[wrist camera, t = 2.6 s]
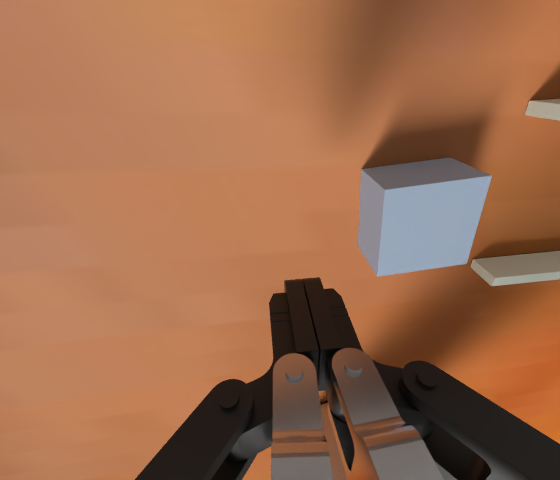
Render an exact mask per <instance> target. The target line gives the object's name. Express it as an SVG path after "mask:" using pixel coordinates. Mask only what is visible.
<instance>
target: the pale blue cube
mask: <svg viewBox="0 0 560 480" xmlns="http://www.w3.org/2000/svg"><path fill="white" fill-rule="evenodd" d="M491 177H492V175H490V174H487V173H485V172H483V171H480V170H478V169H476V168H474V167H471V166H469V165H467V164H464V163H462V162H460V161H458V160H455V159H453V158H451V157H449V158H441V159H434V160H426V161H419V162H411V163H403V164H396V165H388V166H381V167H373V168H366V169H361V188H360V211H359V234H358V247H359V248H360V250H361V251H362V253H363V255H364V256H365V258H366V260H367V261H368V263H369V264H370V266H371V268H372V269H373V271H374V272H375V274H376V276H377V277H378V276H385V275H392V274H399V273H406V272H413V271H420V270H427V269H434V268H441V267H448V266H455V265H462V264H467V261H468V257H469V254H470V250H471V247H472V244H473V240H474V237H475V233H476V230H477V226H478V223H479V219H480V216H481V212H482V209H483V205H484V202H485V198H486V195H487V191H488V188H489V184H490V181H491Z"/></svg>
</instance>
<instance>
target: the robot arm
mask: <svg viewBox="0 0 560 480" xmlns="http://www.w3.org/2000/svg"><path fill="white" fill-rule="evenodd" d="M284 287H285V293H276V294H273V296H272V298H271V300H270V302H269V307H270V321H271V334H272V346H273V363H272V365H271V367H270V369H269V370H268V372H267V373H265V374H264V375H263V376H262V377H260V378H258V379H256V380H254V381H252V382H249V383H247V384H246V383H244V382H243V381H241V380H237V379H229V380H225V381H223V382H221V383H219V384H218V385H216V386H215V387H214V388H213V389H212V390H211V391H210V393H209V394H208V395H207V396H206V397H205V398H204V400H203V401H202V402H201V403H200V404H199V405H198V407H197V408H196V409H195V410H194V411H193V412H192V414H191V415H190V416H189V417H188V418H187V419H186V421H185V422H184V423H183V424H182V425H181V426H180V428H179V429H178V430H177V431H176V432H175V433H174V435H173V436H172V437H171V438H170V439H169V440H168V442H167V443H166V444H165V445H164V446H163V447H162V449H161V450H160V451H159V452H158V453H157V454H156V456H155V457H154V458H153V459H152V460H151V461H150V463H149V464H148V465H147V466H146V467H145V468H144V470H143V471H142V472H141V473H140V474H139V475H138V477H137V478H136V479H135V480H242V478H243V477H244V475H245V474H246V472H247V470H248V469H249V467H250V465H251V464H252V462H253V460H254V459H255V457H256V455H257V453H259V452H261V451H263V450H264V449H266V448H268V447H270V446H271V480H560V444H559V443H557V442H556V441H554V440H552V439H551V438H549V437H548V436H546V435H544V434H543V433H541V432H540V431H538V430H536V429H535V428H533V427H532V426H530V425H528V424H527V423H525V422H524V421H522V420H520V419H519V418H517V417H516V416H514V415H512V414H511V413H509V412H508V411H506V410H505V409H503V408H501V407H500V406H498V405H497V404H495V403H493V402H492V401H490V400H489V399H487V398H485V397H484V396H482V395H481V394H479V393H477V392H476V391H474V390H473V389H471V388H469V387H468V386H466V385H465V384H463V383H461V382H460V381H458V380H457V379H455V378H453V377H452V376H450V375H449V374H447V373H445V372H444V371H442V370H441V369H439V368H437V367H436V366H434V365H432V364H430V363H428V362H424V361H412V362H409V363H408V364H407V365H406V366H405V367H404V369H402V368H397V367H392V366H387V365H383V364H380V363H377V362H376V361H374V360H372V359H371V358H370V357H369V356H368V355H367V354H366V353H365V352H364V351H363V350H362V348H361V346H360V343H359V340H358V338H357V335H356V333H355V330H354V328H353V325H352V323H351V320H350V317H349V316H348V312H347V310H346V308H345V305H344V302H343V300H342V297H341V296H340V295H339V294H338V293H337V292H336V291H335V290H334V289H333V288H332V289H323V285H322V282H321V279H320V278H319V277H318V278H306V279H295V280H285V281H284ZM323 390H325V391H326V395H327V399H328V403H325V404H322V405H320V399H319V392H318V391H323Z"/></svg>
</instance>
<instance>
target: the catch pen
mask: <svg viewBox="0 0 560 480" xmlns="http://www.w3.org/2000/svg"><path fill="white" fill-rule="evenodd" d="M524 115H528V116H534V117H540V118H546V119H552V120H558V121H560V99H548V100H533V101H529V103H528V106H527V109H526V112H525V114H524ZM470 267H471V268H472V269H473V270H474V271H475V272H476V273H477V274H478V275H479V276H481V277H482V278H483V279H484V280H485V281H486V282H487V283H488V284H490V285H491V286H500V285H510V284H519V283H529V282H538V281H548V280H558V279H560V251H551V252H541V253H531V254H521V255H511V256H501V257H490V258H480V259H473V260H472V263H471V266H470Z"/></svg>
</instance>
